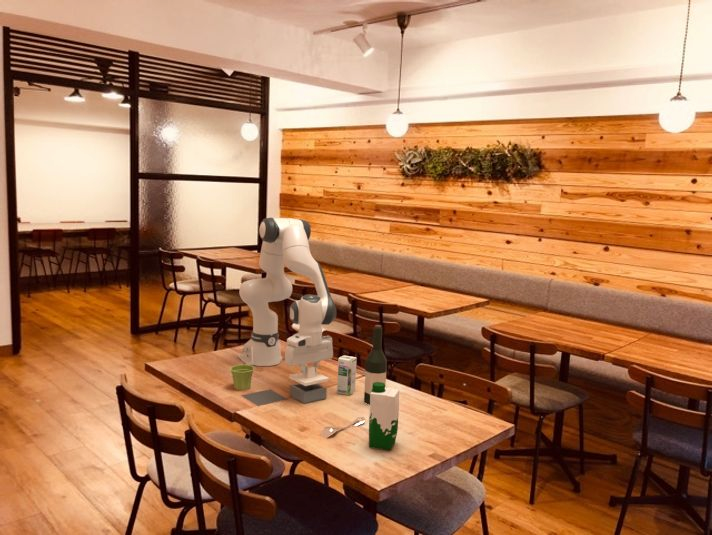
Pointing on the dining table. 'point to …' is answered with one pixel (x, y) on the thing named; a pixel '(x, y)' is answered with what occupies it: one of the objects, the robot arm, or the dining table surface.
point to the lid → (309, 377)
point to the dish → (308, 392)
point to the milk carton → (383, 416)
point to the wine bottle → (375, 364)
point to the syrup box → (346, 375)
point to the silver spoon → (331, 430)
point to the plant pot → (242, 376)
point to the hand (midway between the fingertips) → (309, 373)
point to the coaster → (264, 397)
